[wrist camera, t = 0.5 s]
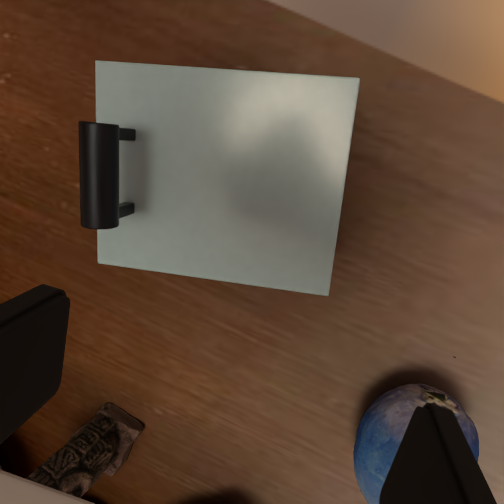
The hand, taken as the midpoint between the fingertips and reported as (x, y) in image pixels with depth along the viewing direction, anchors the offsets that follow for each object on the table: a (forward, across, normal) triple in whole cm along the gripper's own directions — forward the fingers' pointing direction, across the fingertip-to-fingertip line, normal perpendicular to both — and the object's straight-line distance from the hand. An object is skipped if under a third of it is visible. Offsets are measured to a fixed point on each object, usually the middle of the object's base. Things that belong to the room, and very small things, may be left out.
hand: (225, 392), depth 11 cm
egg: (+25, -14, +13) cm, 32 cm away
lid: (+16, +5, -3) cm, 17 cm away
